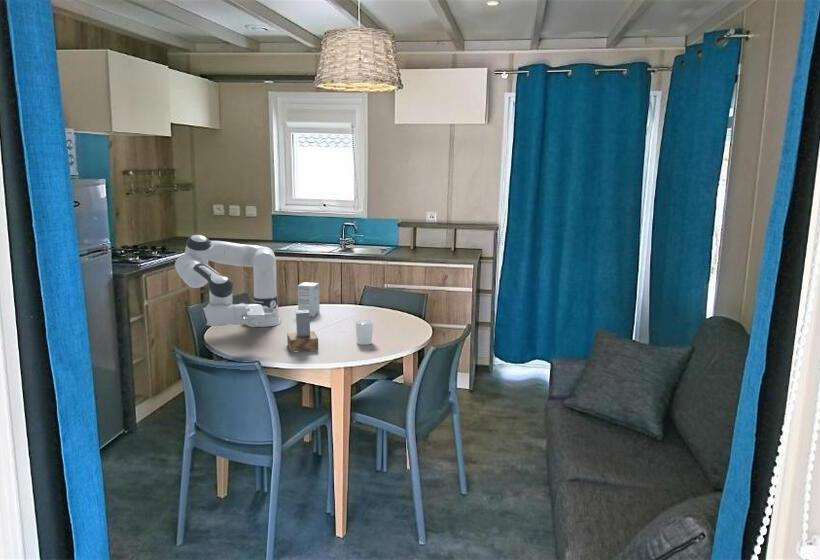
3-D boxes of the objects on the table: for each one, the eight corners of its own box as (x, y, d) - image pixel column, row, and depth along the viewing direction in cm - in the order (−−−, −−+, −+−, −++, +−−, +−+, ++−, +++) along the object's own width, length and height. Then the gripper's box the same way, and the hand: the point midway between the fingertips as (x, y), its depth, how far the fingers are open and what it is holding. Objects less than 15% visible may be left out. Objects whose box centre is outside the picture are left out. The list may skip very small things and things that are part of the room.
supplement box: (304, 311, 355) (303, 281, 352) (320, 312, 353) (319, 282, 350) (297, 315, 346) (297, 285, 343) (314, 316, 344) (313, 285, 341)
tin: (297, 337, 282) (296, 313, 279) (296, 334, 287) (295, 310, 285) (310, 336, 283) (309, 312, 281) (309, 333, 288) (308, 309, 286)
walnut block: (290, 353, 278) (290, 340, 277) (287, 346, 290) (287, 333, 289) (318, 351, 282) (318, 338, 281) (314, 344, 293) (313, 331, 292)
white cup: (356, 340, 299) (356, 319, 297) (373, 340, 299) (373, 320, 297) (354, 345, 291) (354, 323, 289) (372, 345, 291) (372, 324, 289)
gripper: (242, 312, 265) (276, 310, 269) (240, 302, 284) (271, 300, 288) (243, 327, 266) (277, 325, 270) (240, 316, 285) (272, 314, 289)
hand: (274, 312), depth 279 cm, fingers open, 8 cm apart
